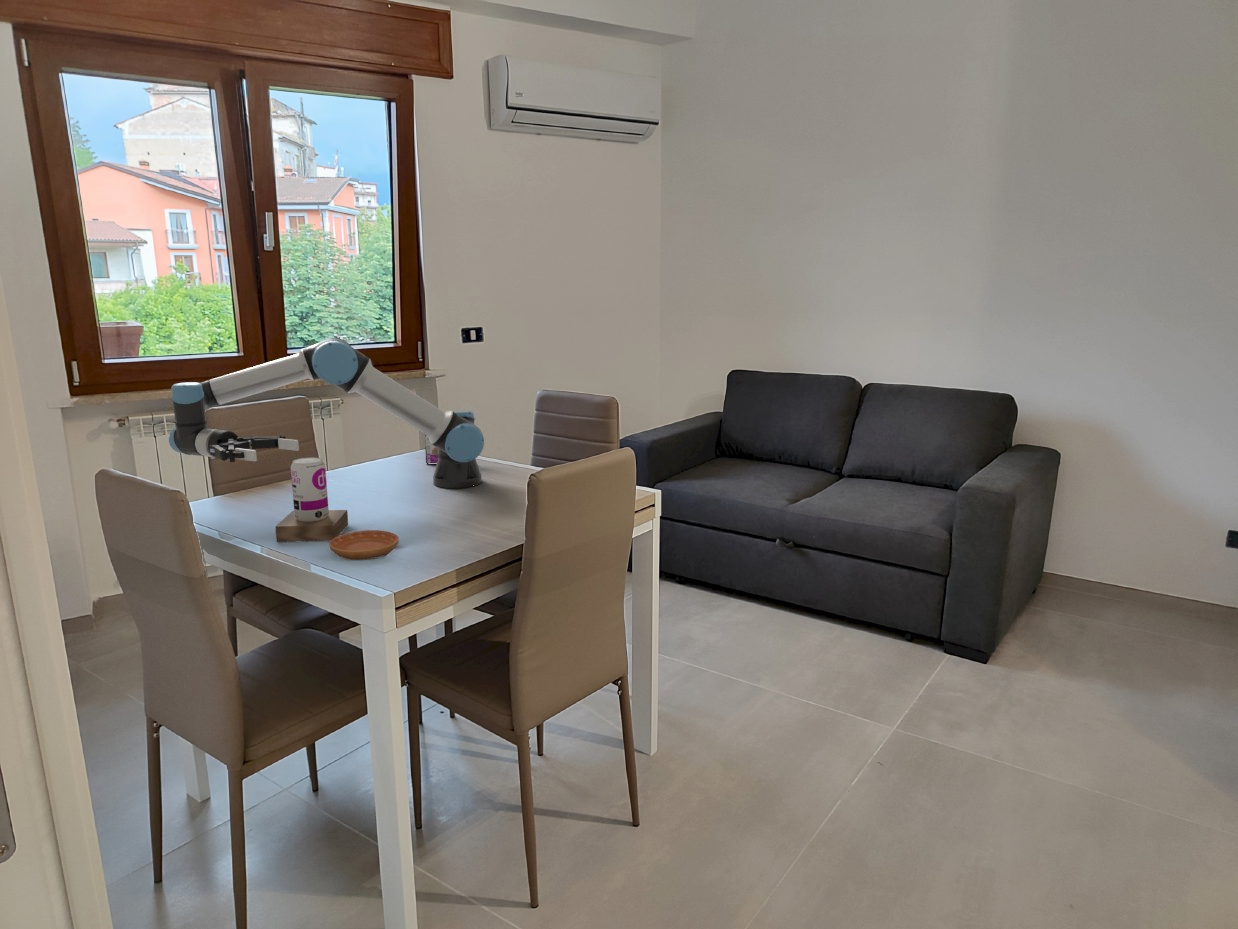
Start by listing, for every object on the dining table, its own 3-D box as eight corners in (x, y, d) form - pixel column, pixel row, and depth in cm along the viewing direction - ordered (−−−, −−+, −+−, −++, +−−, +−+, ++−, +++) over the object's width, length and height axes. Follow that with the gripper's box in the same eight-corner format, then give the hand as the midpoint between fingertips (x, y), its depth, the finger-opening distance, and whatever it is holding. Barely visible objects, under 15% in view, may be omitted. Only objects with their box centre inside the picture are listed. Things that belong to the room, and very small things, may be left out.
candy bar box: (425, 465, 287) (423, 418, 283) (430, 461, 291) (428, 416, 288) (456, 465, 286) (454, 419, 282) (460, 462, 290) (459, 417, 287)
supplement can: (335, 515, 211) (331, 458, 208) (314, 523, 204) (309, 465, 201) (309, 512, 214) (305, 455, 211) (287, 520, 206) (282, 462, 203)
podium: (348, 524, 217) (347, 509, 216) (334, 540, 204) (333, 525, 203) (293, 525, 216) (292, 510, 215) (276, 541, 202) (275, 526, 202)
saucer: (408, 554, 194) (408, 542, 194) (340, 567, 186) (339, 554, 185) (387, 537, 207) (386, 526, 207) (322, 548, 199) (321, 536, 198)
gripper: (258, 448, 230) (315, 455, 221) (178, 467, 208) (237, 475, 199) (255, 422, 228) (312, 427, 219) (174, 438, 206) (234, 445, 197)
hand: (277, 450), depth 209 cm, fingers open, 13 cm apart
